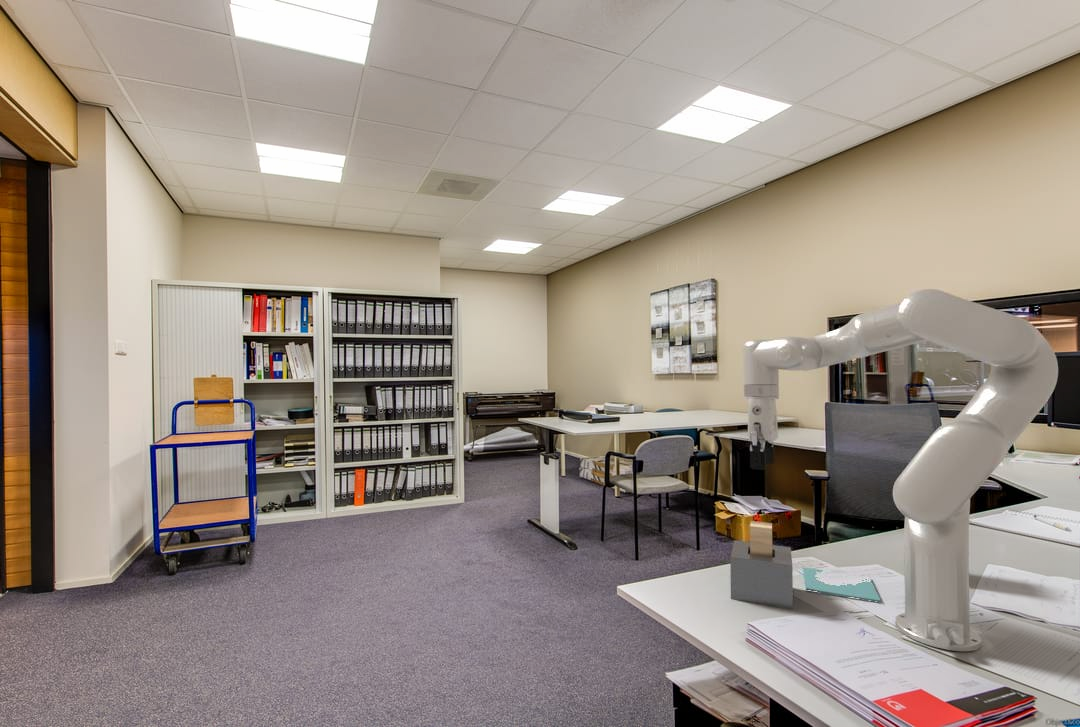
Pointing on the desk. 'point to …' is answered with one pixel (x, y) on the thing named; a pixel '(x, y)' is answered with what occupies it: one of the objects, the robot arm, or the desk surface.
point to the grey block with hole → (762, 576)
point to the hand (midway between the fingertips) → (762, 466)
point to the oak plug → (761, 538)
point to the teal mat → (840, 587)
